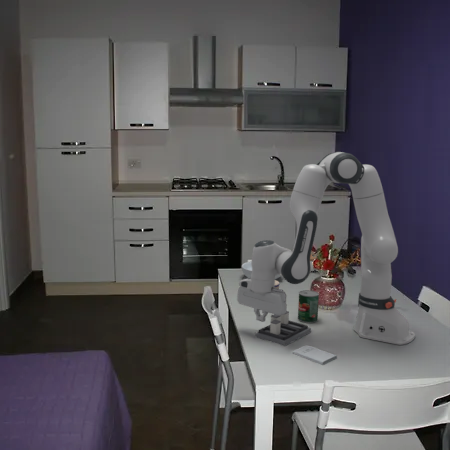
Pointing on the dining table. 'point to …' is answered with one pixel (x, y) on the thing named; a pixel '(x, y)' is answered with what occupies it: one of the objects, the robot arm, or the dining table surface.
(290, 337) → the panel
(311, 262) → the lidded jar
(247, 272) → the serving bowl
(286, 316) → the breaker near
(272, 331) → the block
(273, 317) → the block
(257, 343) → the dining table surface
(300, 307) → the canned tomato
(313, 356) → the external hard drive
